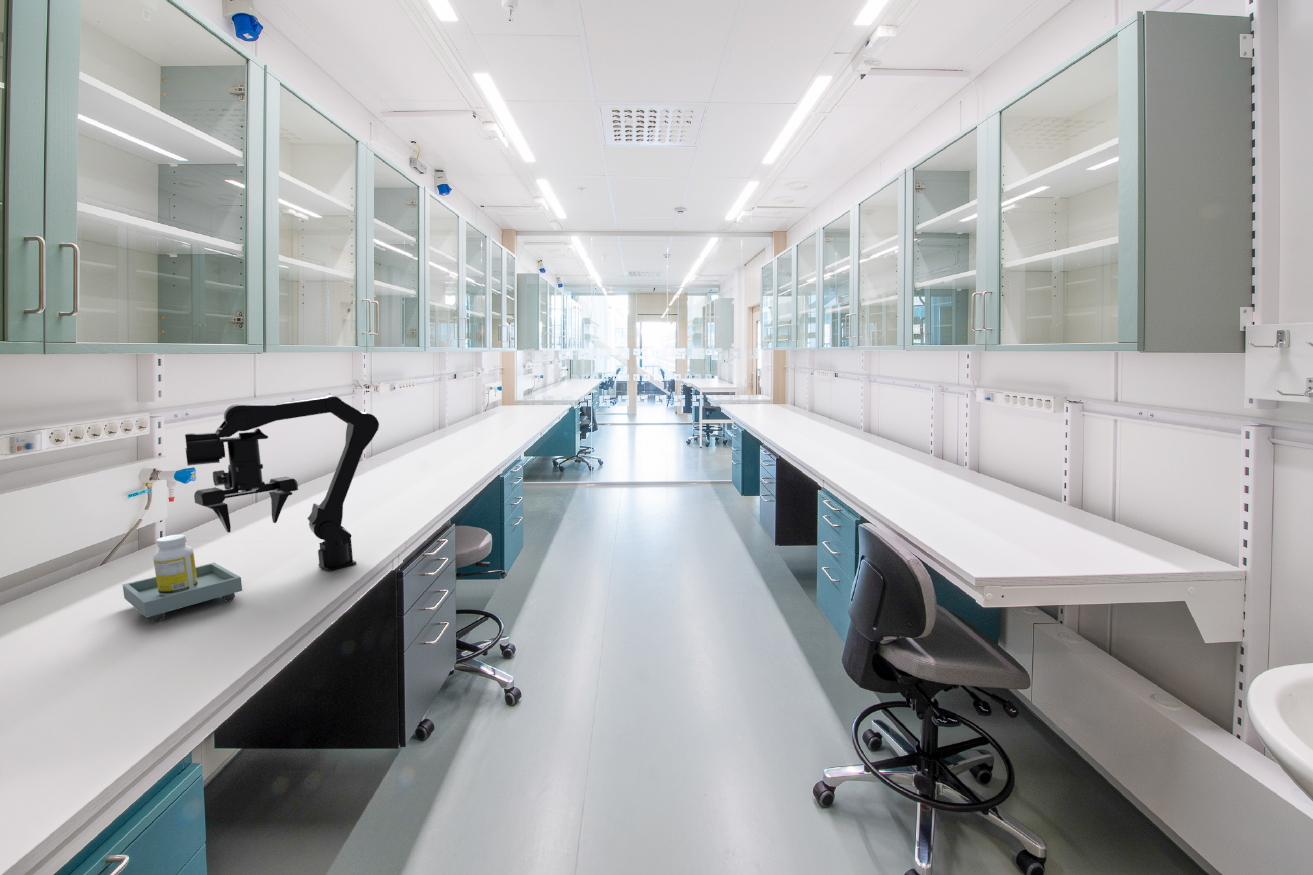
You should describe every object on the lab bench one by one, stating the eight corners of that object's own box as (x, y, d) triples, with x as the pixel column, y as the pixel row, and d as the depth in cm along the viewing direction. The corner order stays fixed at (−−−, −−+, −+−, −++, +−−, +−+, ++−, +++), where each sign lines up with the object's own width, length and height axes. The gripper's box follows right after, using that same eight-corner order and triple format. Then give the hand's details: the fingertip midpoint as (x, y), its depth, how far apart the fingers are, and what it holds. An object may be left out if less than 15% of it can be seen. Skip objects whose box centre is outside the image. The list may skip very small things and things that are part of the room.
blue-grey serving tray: (216, 583, 136) (214, 562, 135) (243, 599, 126) (240, 577, 126) (125, 607, 123) (122, 584, 122) (147, 627, 114) (144, 602, 113)
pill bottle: (188, 583, 128) (181, 531, 126) (204, 587, 125) (197, 535, 123) (152, 593, 122) (144, 540, 121) (168, 599, 119) (160, 544, 118)
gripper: (276, 451, 145) (282, 513, 147) (182, 462, 130) (190, 531, 132) (295, 455, 138) (302, 520, 140) (199, 467, 123) (207, 540, 125)
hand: (252, 527), depth 134 cm, fingers open, 9 cm apart
